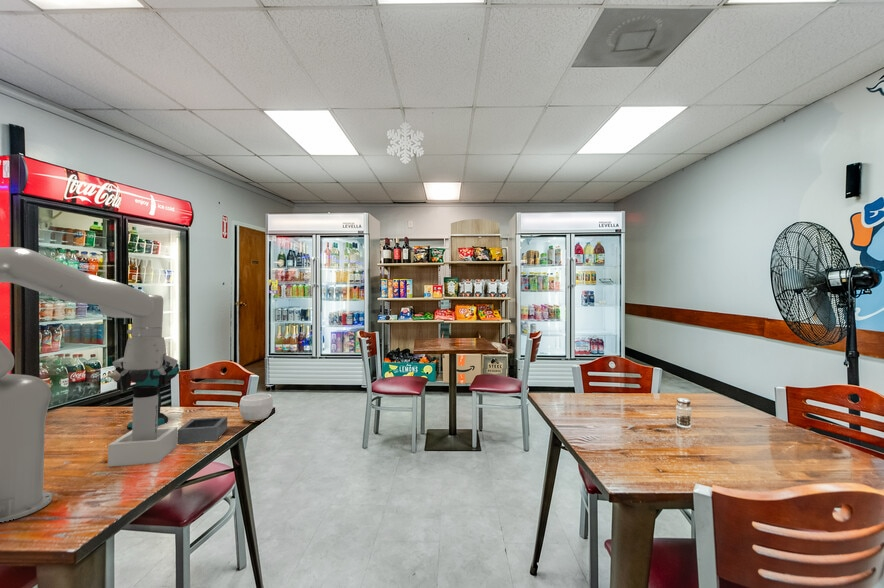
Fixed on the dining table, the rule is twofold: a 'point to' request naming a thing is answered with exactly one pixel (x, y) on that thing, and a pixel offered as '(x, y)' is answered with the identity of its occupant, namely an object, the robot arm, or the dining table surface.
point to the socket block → (202, 430)
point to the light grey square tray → (142, 448)
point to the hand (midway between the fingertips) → (144, 387)
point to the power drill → (148, 379)
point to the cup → (256, 406)
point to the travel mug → (145, 413)
